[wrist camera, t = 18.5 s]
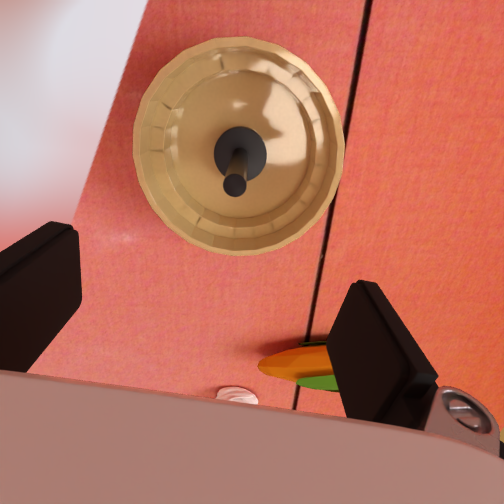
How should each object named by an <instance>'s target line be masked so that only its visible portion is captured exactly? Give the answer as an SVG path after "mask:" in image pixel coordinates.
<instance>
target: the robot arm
mask: <svg viewBox="0 0 504 504" xmlns="http://www.w3.org/2000/svg"><path fill="white" fill-rule="evenodd" d="M81 301H82V286H81V268H80V250H79V234H78V231H76V230H74V229H73V227H72V226H71V225H69V224H63V223H59V222H53V221H51V222H48V223H46V224H45V225H43V226H41V227H40V228H38V229H37V230H35V231H33V232H32V233H30V234H29V235H27V236H25V237H24V238H22V239H21V240H19V241H17V242H16V243H14V244H13V245H11V246H9V247H8V248H6V249H5V250H3V251H1V252H0V504H504V443H503V442H502V441H500V431H499V426H498V424H497V422H496V420H495V418H494V417H493V415H492V414H491V413H490V412H489V410H488V409H487V408H486V407H485V406H484V405H483V404H481V403H480V402H479V401H478V400H477V399H475V398H474V397H472V396H471V395H470V394H468V393H466V392H464V391H462V390H460V389H457V388H454V387H451V386H442V387H438V385H437V384H436V382H435V380H436V379H437V378H438V374H437V373H436V371H435V370H434V368H433V367H432V365H431V364H430V362H429V361H428V359H427V358H426V356H425V355H424V353H423V352H422V350H421V349H420V347H419V346H418V344H417V343H416V341H415V340H414V338H413V337H412V335H411V334H410V332H409V331H408V329H407V328H406V326H405V325H404V323H403V322H402V320H401V319H400V317H399V316H398V314H397V313H396V311H395V310H394V308H393V307H392V305H391V304H390V302H389V301H388V299H387V298H386V296H385V295H384V293H383V292H382V290H381V289H380V287H379V286H378V284H377V283H375V282H369V281H364V280H358V281H357V282H356V283H352V284H351V286H350V288H349V290H348V293H347V295H346V297H345V299H344V302H343V304H342V306H341V308H340V311H339V313H338V315H337V317H336V320H335V322H334V324H333V326H332V329H331V331H330V333H329V335H328V338H327V341H326V348H327V352H328V355H329V359H330V362H331V366H332V369H333V372H334V376H335V379H336V382H337V386H338V389H339V393H340V396H341V399H342V403H343V406H344V409H345V413H346V416H347V418H345V417H338V416H331V415H324V414H318V413H311V412H304V411H297V410H290V409H283V408H277V407H270V406H263V405H256V404H249V403H242V402H235V401H228V400H221V399H214V398H207V397H200V396H192V395H185V394H178V393H171V392H164V391H157V390H149V389H142V388H135V387H128V386H120V385H113V384H105V383H98V382H91V381H83V380H76V379H68V378H61V377H53V376H46V375H39V374H31V373H26V372H27V371H28V370H29V368H30V367H31V366H32V365H33V364H34V362H35V361H36V360H37V359H38V357H39V356H40V355H41V354H42V352H43V351H44V350H45V349H46V348H47V346H48V345H49V344H50V343H51V341H52V340H53V339H54V338H55V336H56V335H57V334H58V333H59V332H60V330H61V329H62V328H63V327H64V325H65V324H66V323H67V322H68V320H69V319H70V318H71V317H72V316H73V314H74V313H75V312H76V311H77V309H78V308H79V307H80V304H81Z"/></svg>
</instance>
